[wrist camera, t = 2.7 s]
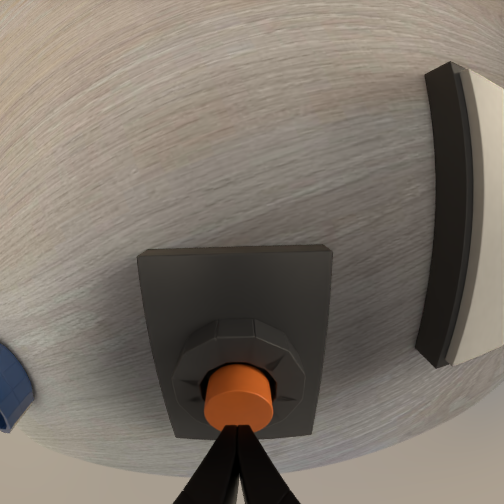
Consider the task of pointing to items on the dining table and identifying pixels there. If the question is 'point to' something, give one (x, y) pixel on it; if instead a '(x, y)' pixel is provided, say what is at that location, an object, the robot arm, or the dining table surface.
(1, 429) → the small dish
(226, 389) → the button
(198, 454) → the dining table surface
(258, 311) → the pad
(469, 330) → the scale
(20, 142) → the dining table surface
